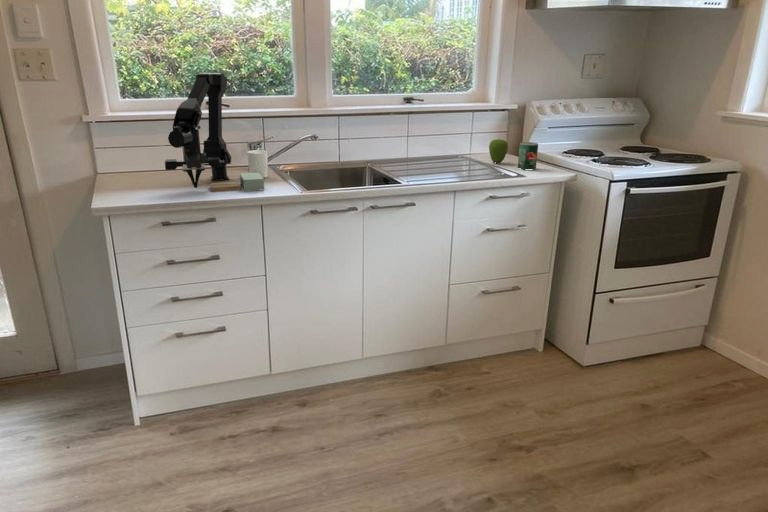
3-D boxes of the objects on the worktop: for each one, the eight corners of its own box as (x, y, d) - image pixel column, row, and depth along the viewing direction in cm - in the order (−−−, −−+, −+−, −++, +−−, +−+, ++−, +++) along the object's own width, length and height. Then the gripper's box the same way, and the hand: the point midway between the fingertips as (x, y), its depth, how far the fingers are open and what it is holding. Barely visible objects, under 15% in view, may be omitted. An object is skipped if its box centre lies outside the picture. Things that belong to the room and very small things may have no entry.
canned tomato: (532, 171, 251) (535, 145, 248) (515, 169, 255) (517, 143, 251) (538, 168, 258) (540, 143, 254) (520, 166, 262) (522, 141, 258)
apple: (506, 165, 263) (508, 139, 259) (487, 164, 265) (489, 138, 261) (507, 162, 271) (509, 137, 267) (488, 161, 273) (490, 136, 269)
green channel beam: (240, 184, 220) (239, 173, 218) (259, 183, 222) (258, 172, 221) (244, 191, 209) (243, 179, 208) (264, 189, 211) (263, 178, 210)
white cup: (247, 175, 235) (245, 150, 232) (266, 174, 238) (265, 149, 235) (250, 179, 228) (248, 153, 225) (270, 178, 231) (269, 152, 228)
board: (210, 188, 214) (210, 183, 214) (238, 187, 217) (238, 181, 217) (212, 192, 208) (211, 187, 207) (240, 191, 211) (240, 185, 210)
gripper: (162, 148, 194) (168, 194, 199) (221, 145, 200) (224, 190, 205) (162, 143, 204) (167, 187, 209) (218, 141, 210) (221, 184, 215)
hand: (195, 187), depth 209 cm, fingers closed
